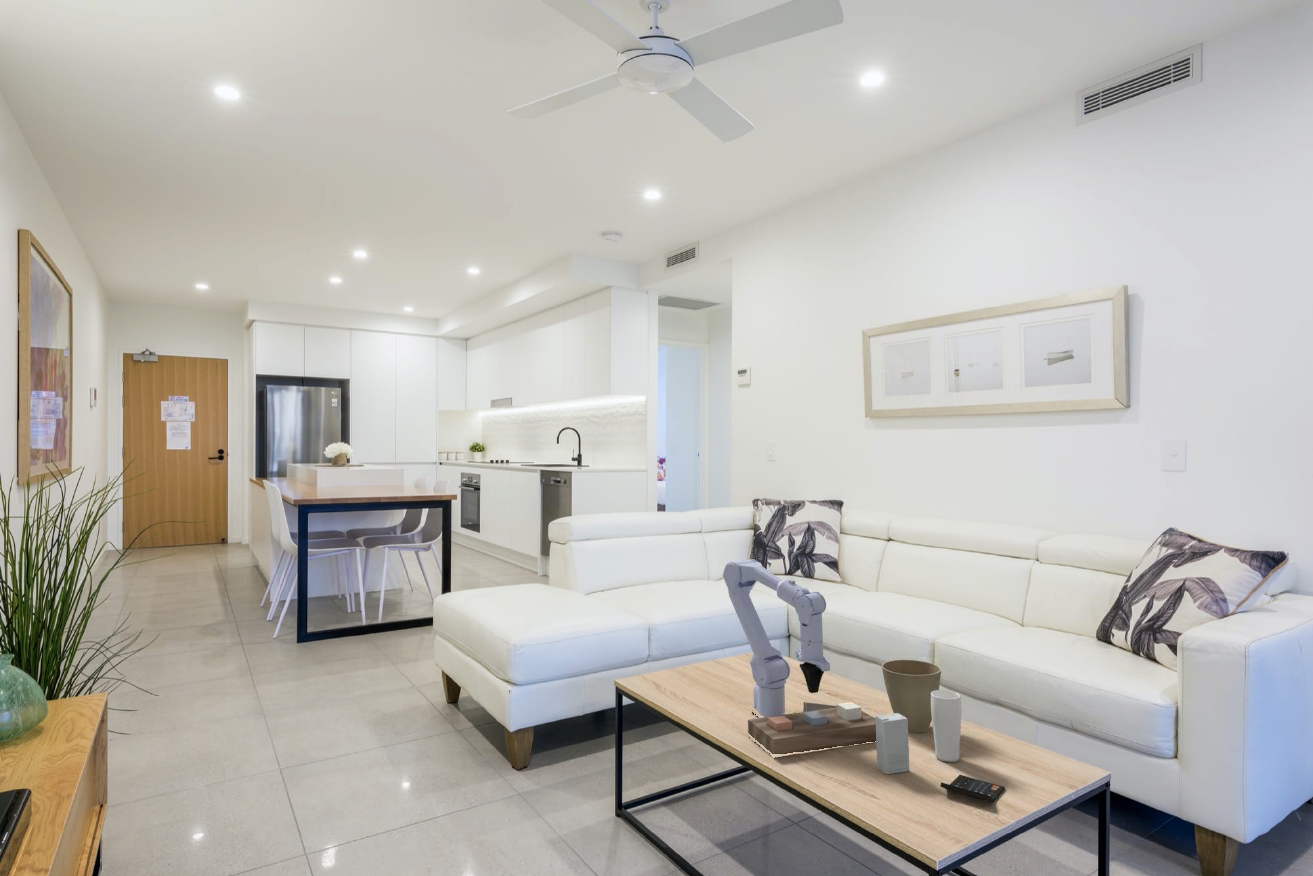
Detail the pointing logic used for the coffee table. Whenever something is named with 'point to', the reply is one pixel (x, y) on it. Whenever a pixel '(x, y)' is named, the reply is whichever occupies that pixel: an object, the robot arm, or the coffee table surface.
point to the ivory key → (848, 711)
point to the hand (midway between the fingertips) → (813, 692)
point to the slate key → (814, 718)
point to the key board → (813, 732)
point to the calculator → (975, 788)
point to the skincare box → (892, 743)
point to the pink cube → (779, 723)
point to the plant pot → (912, 690)
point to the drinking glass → (946, 724)
